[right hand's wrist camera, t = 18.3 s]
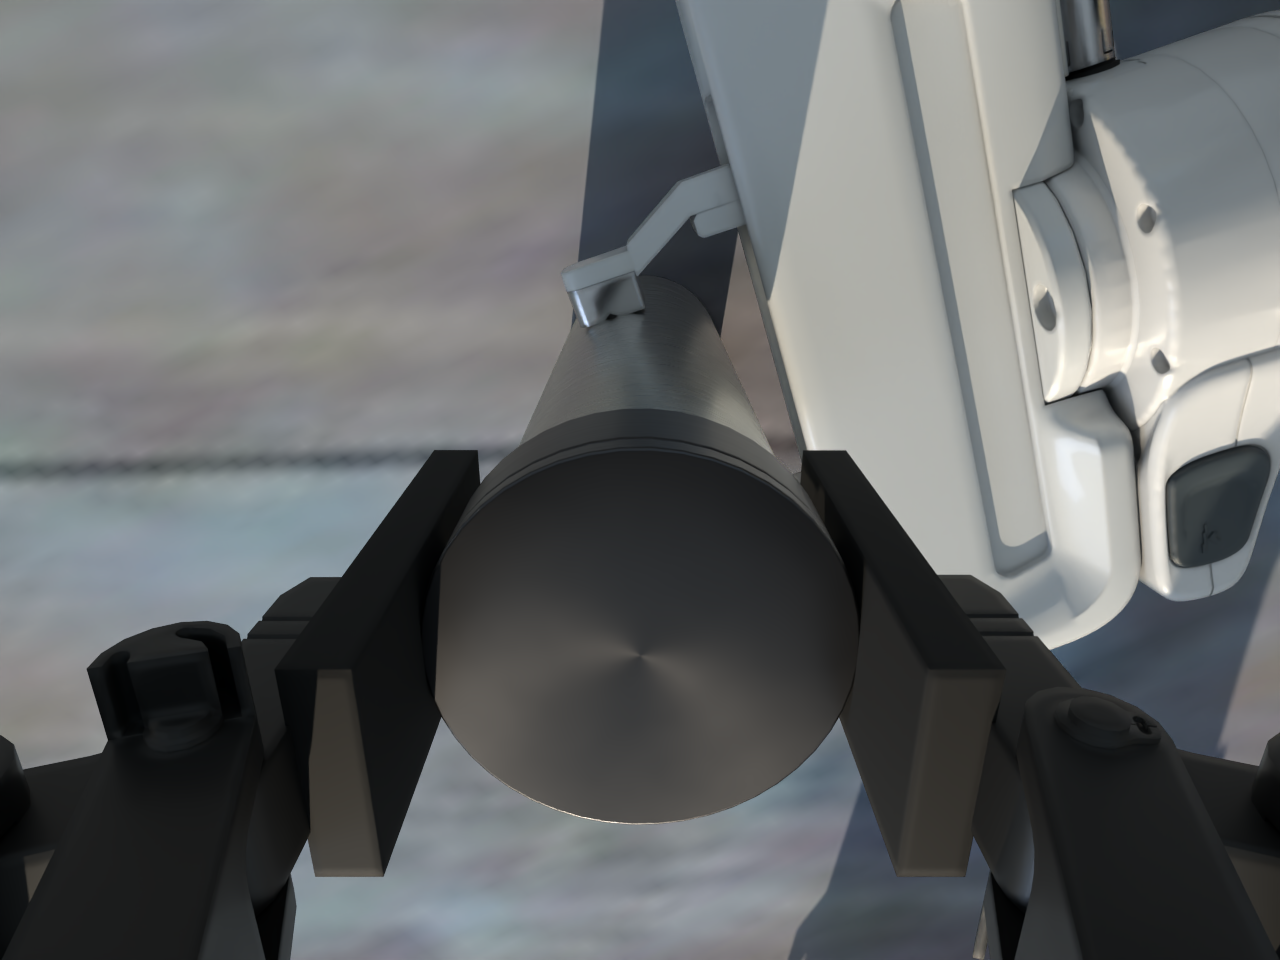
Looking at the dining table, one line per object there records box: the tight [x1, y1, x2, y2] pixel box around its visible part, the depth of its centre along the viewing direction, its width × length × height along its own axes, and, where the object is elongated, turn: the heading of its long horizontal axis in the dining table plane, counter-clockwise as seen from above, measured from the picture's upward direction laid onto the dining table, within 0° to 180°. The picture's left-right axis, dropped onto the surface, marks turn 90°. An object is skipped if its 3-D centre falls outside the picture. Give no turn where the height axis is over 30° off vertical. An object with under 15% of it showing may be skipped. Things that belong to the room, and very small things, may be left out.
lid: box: [421, 408, 860, 824], centre depth 11 cm, size 6×6×2 cm
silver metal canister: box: [519, 275, 774, 455], centre depth 20 cm, size 5×5×18 cm
